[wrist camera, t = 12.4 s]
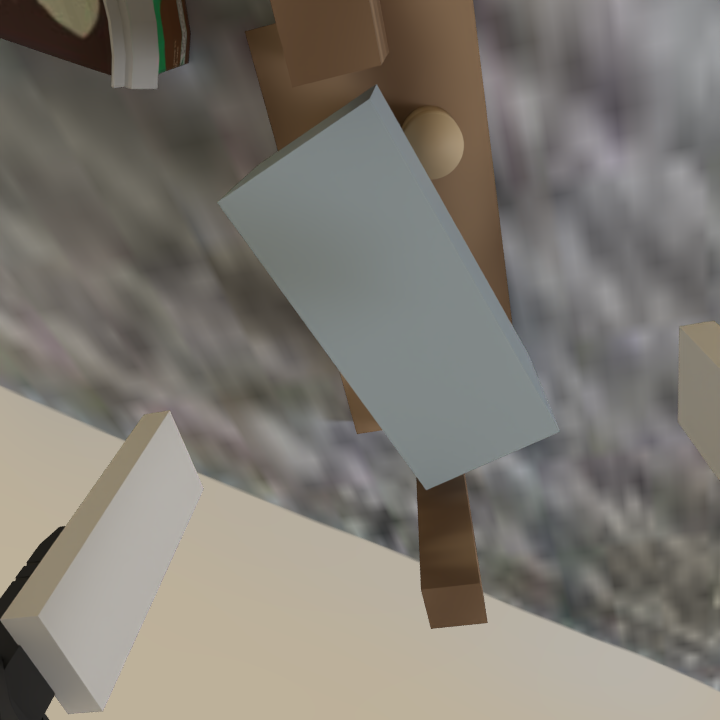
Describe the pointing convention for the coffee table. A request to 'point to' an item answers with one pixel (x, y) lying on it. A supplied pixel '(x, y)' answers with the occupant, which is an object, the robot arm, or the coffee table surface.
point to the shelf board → (392, 291)
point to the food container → (104, 35)
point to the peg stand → (442, 164)
